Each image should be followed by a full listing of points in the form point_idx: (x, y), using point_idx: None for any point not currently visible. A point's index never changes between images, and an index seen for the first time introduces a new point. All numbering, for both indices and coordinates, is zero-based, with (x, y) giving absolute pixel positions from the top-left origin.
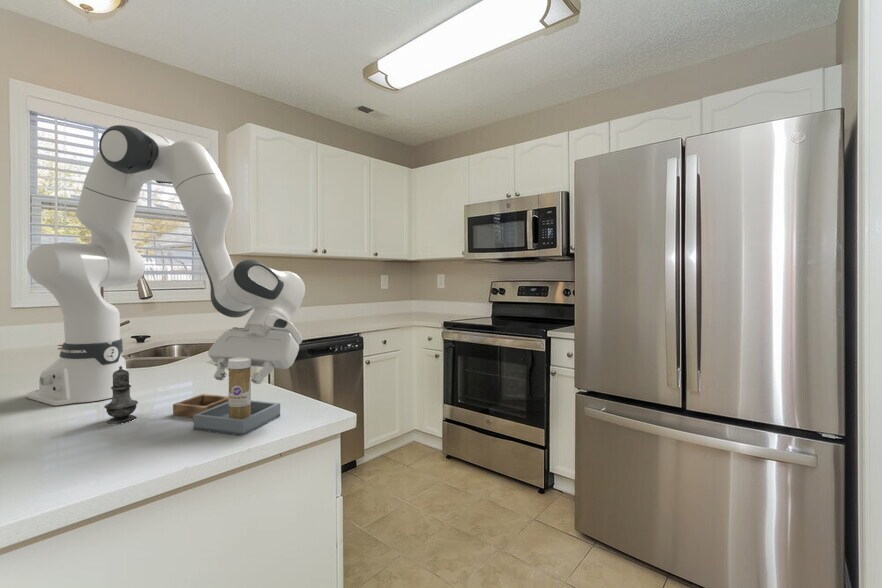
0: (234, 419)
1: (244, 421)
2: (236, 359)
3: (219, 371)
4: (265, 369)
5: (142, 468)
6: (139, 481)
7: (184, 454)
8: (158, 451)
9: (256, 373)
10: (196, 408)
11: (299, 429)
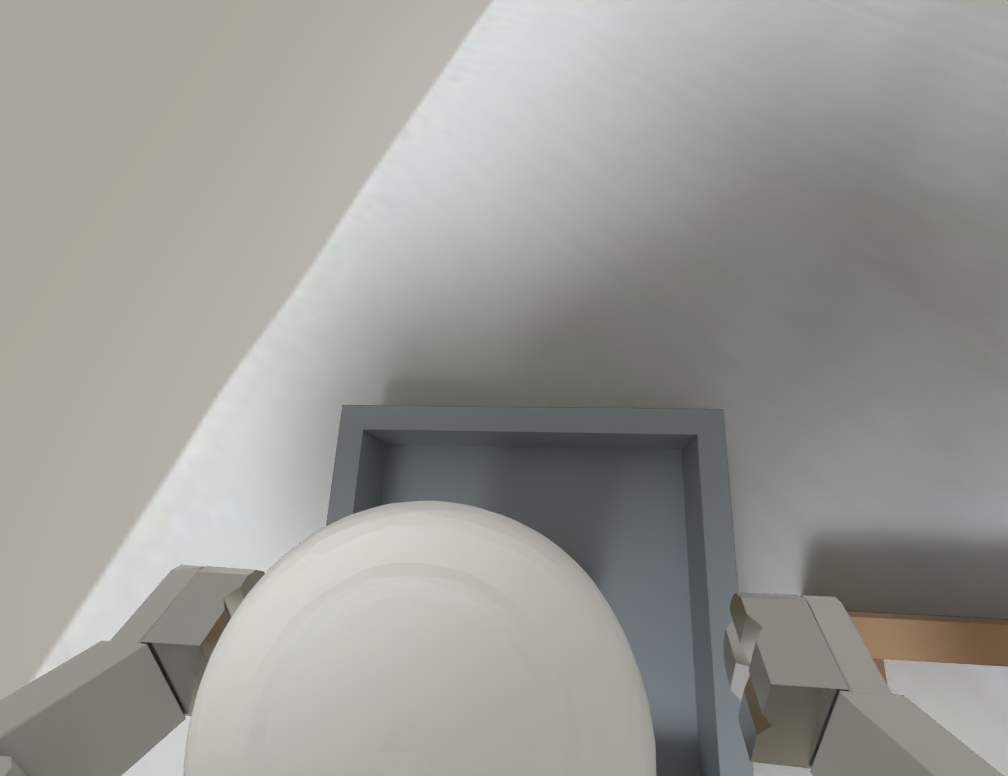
0: (410, 416)
1: (343, 419)
2: (402, 623)
3: (807, 657)
4: (7, 704)
5: (545, 81)
6: (473, 29)
7: (492, 199)
8: (622, 188)
9: (168, 634)
10: (915, 619)
11: (127, 593)
